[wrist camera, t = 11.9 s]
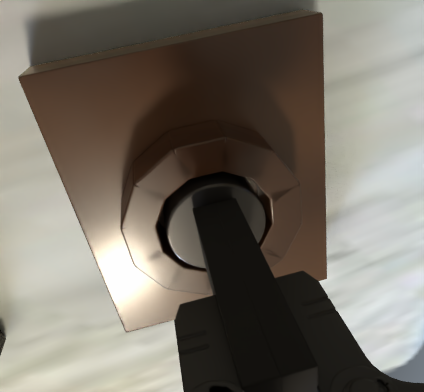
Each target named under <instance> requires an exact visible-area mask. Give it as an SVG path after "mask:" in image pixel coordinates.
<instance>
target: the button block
mask: <svg viewBox="0 0 424 392" xmlns="http://www.w3.org/2000/svg"><path fill="white" fill-rule="evenodd" d="M18 79H19V81H20V83H21V86H22V88H23V90H24V93H25V95H26V97H27V100H28V102H29V105H30V107H31V109H32V112H33V114H34V116H35V119H36V121H37V123H38V126H39V128H40V131H41V133H42V135H43V138H44V140H45V142H46V145H47V147H48V149H49V152H50V154H51V157H52V159H53V161H54V164H55V166H56V168H57V171H58V173H59V175H60V178H61V180H62V182H63V185H64V187H65V190H66V192H67V194H68V197H69V199H70V201H71V204H72V206H73V208H74V211H75V213H76V216H77V218H78V220H79V223H80V225H81V227H82V230H83V232H84V234H85V237H86V239H87V242H88V244H89V246H90V249H91V251H92V253H93V256H94V258H95V260H96V263H97V265H98V267H99V270H100V272H101V275H102V277H103V279H104V282H105V284H106V286H107V289H108V291H109V293H110V296H111V298H112V301H113V303H114V305H115V308H116V310H117V312H118V315H119V317H120V319H121V322H122V324H123V327H124V329H125V331H126V332H130V331H134V330H138V329H142V328H145V327H149V326H153V325H156V324H160V323H164V322H168V321H171V320H175V317H176V314H177V311H178V308H179V305H180V304H182V303H186V302H190V301H194V300H198V299H201V298H205V297H209V296H213V292H212V289H211V285H210V281H209V277H208V274H207V270H206V268H200V267H196V266H193V265H190V264H188V263H186V262H184V261H183V260H181V259H180V258H179V257H178V256H177V255H176V254H175V253H174V252H173V251H172V249H171V247H170V246H169V243H168V240H167V235H166V228H165V222H164V215H163V206H164V203H165V200H166V199H167V198H168V197H169V196H170V195H171V194H173V193H174V192H175V191H176V190H177V189H178V188H180V187H181V186H182V185H183V184H184V183H185V182H187V181H188V180H189V179H192V178H196V177H200V176H205V175H209V174H213V173H217V172H221V171H223V172H227V173H230V174H234V175H238V176H242V177H245V178H246V179H247V180H248V182H249V183H250V185H251V187H252V188H253V190H254V192H255V193H256V195H257V197H258V198H259V200H260V202H261V203H262V205H263V208H264V211H265V216H266V223H265V229H264V233H263V235H262V238H261V240H260V241H259V243H258V245H259V247H260V249H261V251H262V253H263V255H264V257H265V259H266V261H267V263H268V265H269V267H270V269H271V271H272V273H273V275H274V277H275V278H276V277H280V276H284V275H288V274H291V273H295V272H299V271H305V272H306V273H308V274H309V275H310V276H312V277H313V278H315V279H316V280H317V281H320V280H324V279H327V259H326V195H325V130H324V65H323V14H322V13H321V12H315V11H309V10H303V9H302V10H297V11H292V12H288V13H283V14H278V15H273V16H269V17H264V18H259V19H254V20H249V21H245V22H240V23H235V24H230V25H226V26H221V27H216V28H211V29H206V30H202V31H197V32H192V33H187V34H182V35H178V36H173V37H168V38H163V39H159V40H154V41H149V42H144V43H139V44H135V45H130V46H125V47H120V48H116V49H111V50H106V51H101V52H96V53H92V54H87V55H82V56H77V57H72V58H68V59H63V60H58V61H53V62H49V63H44V64H39V65H34V66H30V67H29V68H28V69H27V70H26V71H25V72H23V73H22V74H21V75H20V76H19V77H18Z"/></svg>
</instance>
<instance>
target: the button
mask: <svg viewBox="0 0 424 392" xmlns="http://www.w3.org/2000/svg"><path fill="white" fill-rule="evenodd" d="M233 198H236V200H237V202H238V204H239V206H240V208H241V210H242V212H243V214H244V216H245V218H246V220H247V222H248V224H249V226H250V228H251V230H252V232H253V234H254V236H255V238H256V241H257V243H259V241H260V240H261V238H262V235H263V233H264V229H265V223H266V216H265V211H264V208H263V205H262V203H261V202H260V200H259V198H258V197H257V195H256V193H255V192H254V190H253V188H252V187H251V185H250V183H249V182H248V180H247V179H246V178H245V177H242V176H238V175H234V174H230V173H227V172H223V171H221V172H217V173H213V174H209V175H205V176H200V177H196V178H192V179H189V180H188V181H187V182H185V183H184V184H183V185H182V186H181V187H180V188H178V189H177V190H176V191H175V192H174V193H173V194H171V195H170V196H169V197H168V198H167V199H166V200H165V203H164V206H163V215H164V222H165V228H166V235H167V240H168V243H169V246H170V247H171V249H172V251H173V252H174V253H175V254H176V255H177V256H178V257H179V258H180V259H181V260H183V261H184V262H186V263H188V264H190V265H193V266H196V267H200V268H206V266H205V261H204V257H203V253H202V248H201V244H200V240H199V235H198V231H197V227H196V223H195V218H194V214H193V210H192V209H193V208H197V207H201V206H205V205H209V204H213V203H217V202H221V201H225V200H229V199H233Z"/></svg>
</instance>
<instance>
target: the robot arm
mask: <svg viewBox="0 0 424 392" xmlns="http://www.w3.org/2000/svg"><path fill="white" fill-rule="evenodd" d="M192 210H193V214H194V218H195V223H196V227H197V231H198V235H199V240H200V244H201V248H202V253H203V257H204V261H205V266H206V270H207V274H208V277H209V281H210V285H211V289H212V292H213V296H209V297H205V298H201V299H198V300H194V301H190V302H186V303H182V304H180V305H179V308H178V311H177V314H176V317H175V320H174V322H175V330H176V337H177V345H178V352H179V360H180V367H181V375H182V382H183V390H184V392H424V383H411V382H404V381H400V380H397V379H394V378H391V377H389V376H388V375H386V374H384V373H382V372H381V371H379V370H378V369H377V368H376V367H375V366H373V365H372V364H371V362H370V361H369V360H368V359H367V357H366V356H365V354H364V353H363V351H362V350H361V348H360V346H359V345H358V343H357V342H356V340H355V338H354V337H353V335H352V334H351V332H350V331H349V329H348V327H347V326H346V324H345V323H344V321H343V319H342V318H341V316H340V315H339V313H338V312H337V311H336V310H335V307H334V305H333V304H332V302H331V300H330V299H328V296H327V294H326V293H325V291H324V289H323V288H322V286H321V285H320V283H319V281H317V280H316V279H315V278H313V277H312V276H310V275H309V274H308V273H306V272H305V271H299V272H295V273H291V274H288V275H284V276H280V277H276V278H275V277H274V275H273V273H272V271H271V269H270V267H269V265H268V263H267V261H266V259H265V257H264V255H263V253H262V251H261V249H260V247H259V245H258V243H257V241H256V238H255V236H254V234H253V232H252V230H251V228H250V226H249V224H248V222H247V220H246V218H245V216H244V214H243V212H242V210H241V208H240V206H239V204H238V202H237V200H236V198H233V199H229V200H225V201H221V202H217V203H213V204H209V205H205V206H201V207H197V208H193V209H192Z"/></svg>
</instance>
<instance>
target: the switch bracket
mask: <svg viewBox="0 0 424 392" xmlns="http://www.w3.org/2000/svg"><path fill="white" fill-rule="evenodd" d="M5 340H6V338H5V336H4V335H3V333H2V332H1V330H0V355H1V352H2V349H3V346H4V343H5Z"/></svg>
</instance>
